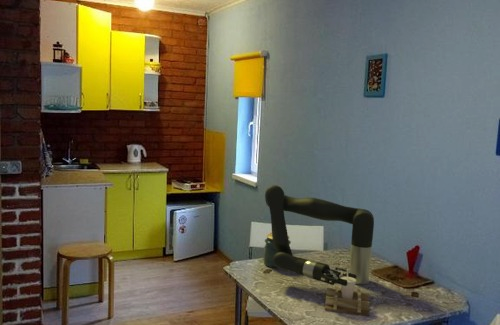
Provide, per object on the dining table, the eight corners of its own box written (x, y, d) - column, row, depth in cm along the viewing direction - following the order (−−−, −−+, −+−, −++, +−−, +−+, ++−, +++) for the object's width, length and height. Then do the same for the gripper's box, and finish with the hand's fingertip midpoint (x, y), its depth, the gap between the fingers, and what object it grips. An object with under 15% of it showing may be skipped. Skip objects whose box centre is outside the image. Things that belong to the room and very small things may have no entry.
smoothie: (343, 297, 200) (345, 265, 198) (357, 302, 196) (360, 269, 194) (335, 302, 195) (338, 268, 193) (349, 306, 191) (352, 272, 189)
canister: (290, 269, 234) (292, 234, 232) (263, 267, 234) (265, 232, 232) (288, 260, 247) (290, 227, 244) (263, 259, 247) (265, 225, 245)
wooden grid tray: (326, 293, 205) (327, 284, 205) (367, 299, 202) (368, 290, 202) (324, 310, 189) (325, 300, 188) (369, 316, 186) (370, 306, 185)
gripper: (308, 266, 197) (344, 276, 187) (324, 258, 208) (359, 267, 199) (307, 283, 198) (343, 294, 188) (323, 274, 209) (358, 284, 200)
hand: (351, 280), depth 193 cm, fingers open, 8 cm apart
